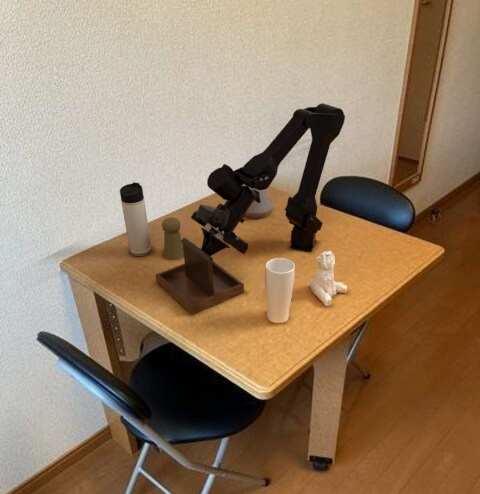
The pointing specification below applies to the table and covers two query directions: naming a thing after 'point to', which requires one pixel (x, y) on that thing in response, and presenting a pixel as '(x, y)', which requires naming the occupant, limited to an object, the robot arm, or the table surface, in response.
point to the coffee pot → (260, 206)
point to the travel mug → (135, 219)
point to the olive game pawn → (172, 239)
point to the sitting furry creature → (326, 279)
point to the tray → (198, 280)
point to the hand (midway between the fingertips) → (200, 259)
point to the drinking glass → (279, 288)
